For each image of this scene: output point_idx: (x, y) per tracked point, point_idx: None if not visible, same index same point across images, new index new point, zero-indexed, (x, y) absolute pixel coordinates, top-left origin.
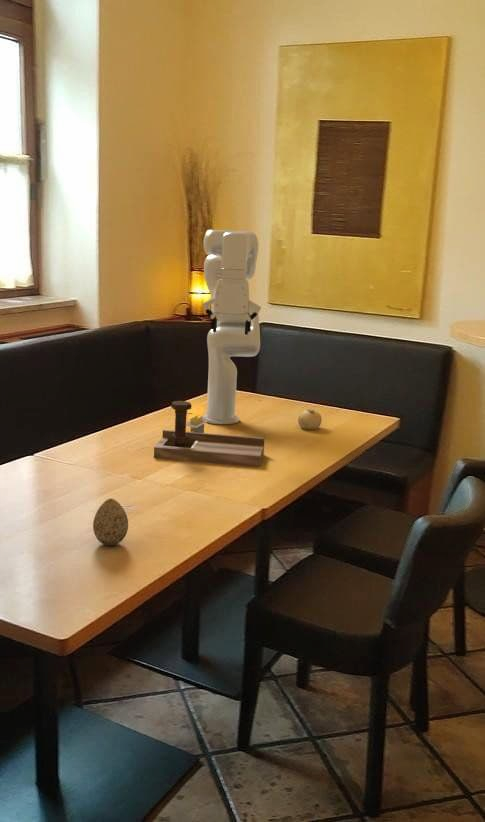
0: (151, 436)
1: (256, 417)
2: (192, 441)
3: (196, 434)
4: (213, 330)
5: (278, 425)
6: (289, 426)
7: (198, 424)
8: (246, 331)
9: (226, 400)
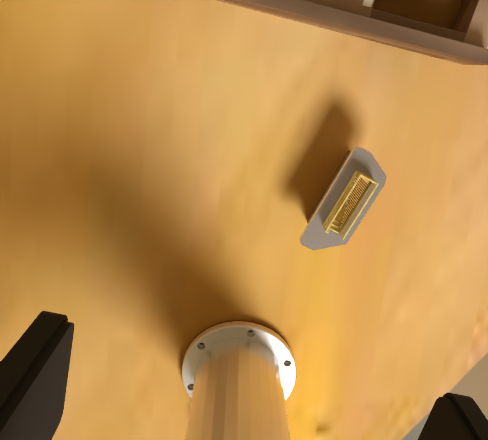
0: (479, 179)
1: (127, 405)
2: (381, 11)
3: (372, 19)
4: (471, 405)
5: None
6: (29, 321)
7: (343, 171)
8: (37, 330)
9: (224, 382)
